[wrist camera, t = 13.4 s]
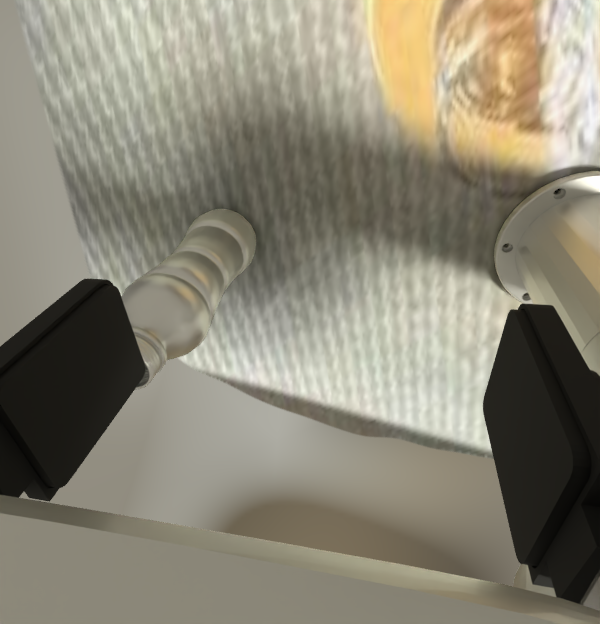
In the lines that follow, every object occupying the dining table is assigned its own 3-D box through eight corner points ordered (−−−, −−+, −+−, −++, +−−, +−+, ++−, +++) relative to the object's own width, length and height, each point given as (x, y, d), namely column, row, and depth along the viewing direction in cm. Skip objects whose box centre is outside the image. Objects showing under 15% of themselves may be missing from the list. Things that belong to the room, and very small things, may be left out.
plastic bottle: (185, 217, 41) (49, 343, 25) (241, 190, 38) (127, 311, 22) (220, 270, 44) (118, 414, 27) (274, 248, 41) (196, 393, 25)
